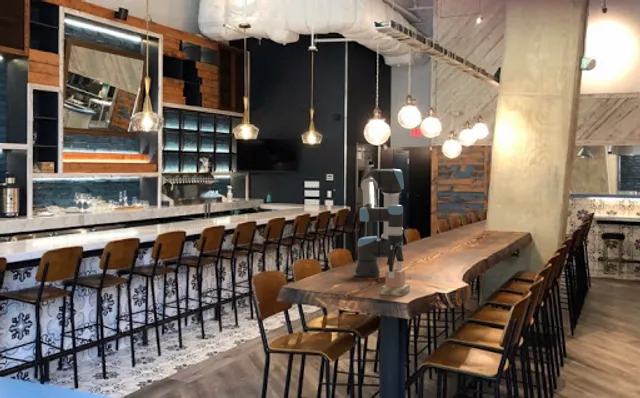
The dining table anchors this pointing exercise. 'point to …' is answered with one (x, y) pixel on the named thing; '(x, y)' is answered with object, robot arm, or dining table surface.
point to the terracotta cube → (395, 279)
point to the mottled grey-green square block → (395, 290)
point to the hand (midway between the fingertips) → (395, 275)
